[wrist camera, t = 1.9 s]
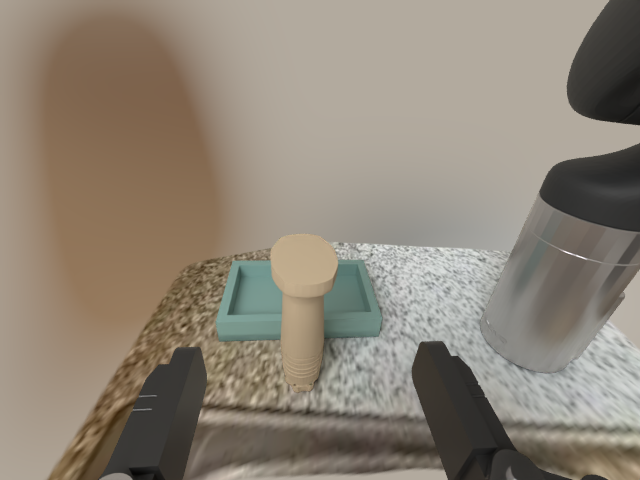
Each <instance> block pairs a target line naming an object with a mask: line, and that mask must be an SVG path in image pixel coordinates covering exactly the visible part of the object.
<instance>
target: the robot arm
mask: <svg viewBox="0 0 640 480" xmlns="http://www.w3.org/2000/svg"><path fill="white" fill-rule="evenodd" d="M567 96H568V100H569V103H570V105H571V107H572V108H573V109H574V111H576V112H577V113H579V114H581V115H583V116H585V117H588V118H591V119H595V120H600V121H608V122H616V123H623V124H633V125H640V0H610V1H609V2H608V3H607V5H606V6H605V7H604V9H603V10H602V12H601V13H600V15H599V16H598V17H597V19H596V20H595V22H594V23H593V25H592V26H591V28H590V29H589V31H588V33H587V35H586V36H585V38H584V40H583V42H582V44H581V46H580V47H579V49H578V51H577V53H576V56H575V58H574V60H573V63H572V65H571V69H570V72H569V76H568V82H567ZM639 269H640V143H639V144H637V145H634V146H632V147H629V148H627V149H624V150H621V151H617V152H613V153H609V154H605V155H600V156H593V157H585V158H577V159H571V160H567V161H563V162H560V163H558V164H556V165H555V166H553V167H552V169H551V170H550V171H549V172H548V174H547V176H546V178H545V180H544V182H543V184H542V187H541V189H540V191H539V193H538V195H537V198H536V200H535V202H534V204H533V206H532V208H531V211H530V213H529V215H528V217H527V220H526V222H525V224H524V226H523V228H522V231H521V233H520V235H519V237H518V240H517V242H516V244H515V246H514V248H513V250H512V253H511V255H510V257H509V259H508V261H507V263H506V266H505V268H504V270H503V272H502V274H501V277H500V279H499V281H498V283H497V285H496V288H495V290H494V292H493V294H492V296H491V298H490V301H489V303H488V305H487V307H486V310H485V312H484V314H483V316H482V319H481V321H480V328H481V332H482V334H483V336H484V338H485V339H486V341H487V342H488V343H489V344H490V346H491V347H492V348H493V349H494V350H495V351H496V352H498V353H499V354H500V355H502V356H503V357H504V358H506V359H507V360H509V361H511V362H512V363H514V364H516V365H518V366H521V367H523V368H525V369H529V370H532V371H536V372H542V373H555V372H558V371H561V370H563V369H564V368H565V367H566V366H567V365H568V364H569V362H570V361H571V360H572V359H578V358H579V357H580V355H581V354H582V353H583V351H584V350H585V349H586V347H587V346H588V345H589V344H590V342H591V341H592V340H593V338H594V337H595V336H596V334H597V333H598V332H599V331H600V329H601V328H602V327H603V325H604V324H605V323H606V321H607V320H608V319H609V317H610V316H611V315H612V314H613V312H614V311H615V310H616V308H617V307H618V306H619V305H620V303H621V302H622V300H623V299H624V298H625V294H624V292H623V291H624V289H625V288H626V287H627V285H628V284H629V283H630V281H631V280H632V279H633V278H634V276H635V275H636V273H637V272H638V271H639ZM412 379H413V383H414V386H415V389H416V392H417V394H418V397H419V400H420V403H421V405H422V408H423V411H424V414H425V417H426V419H427V422H428V425H429V428H430V430H431V433H432V436H433V439H434V442H435V444H436V447H437V450H438V453H439V455H440V458H441V461H442V464H443V467H444V469H445V472H446V475H447V478H448V480H572V479H569V478H565V477H562V476H559V475H555V474H552V473H549V472H546V471H543V470H541V469H539V468H538V467H537V466H536V465H535V464H534V463H533V462H532V461H531V460H530V459H528V458H527V457H526V456H524V455H523V454H521V453H519V452H518V451H517V450H516V448H515V447H514V446H513V444H512V443H511V441H510V439H509V437H508V435H507V434H506V432H505V430H504V428H503V426H502V425H501V423H500V421H499V419H498V417H497V416H496V414H495V412H494V410H493V408H492V407H491V405H490V403H489V401H488V399H487V398H486V397H485V394H484V392H483V390H482V389H481V387H480V385H478V381H477V380H476V378H475V376H474V374H473V372H472V371H471V369H470V368H469V367H468V366H467V365H466V364H465V363H464V362H463V361H462V360H461V359H460V358H459V357H458V356H451V355H450V353H449V351H448V349H447V347H446V345H445V344H444V343H443V342H442V341H429V342H421V343H420V344H419V347H418V350H417V354H416V357H415V360H414V363H413V366H412ZM206 384H207V373H206V369H205V364H204V360H203V356H202V351H201V348H200V347H178V348H176V349H175V351H174V353H173V356H172V358H171V361H170V363H169V364H162V365H158V366H157V367H156V368H155V370H154V371H153V372H152V373H151V374H150V375H149V376H148V377H147V379H146V380H145V383H144V385H143V387H142V389H141V392H140V394H139V398H137V401H136V403H135V405H134V407H133V411H132V412H131V414H130V416H129V418H128V421H127V423H126V425H125V427H124V430H123V432H122V434H121V436H120V438H119V441H118V443H117V445H116V447H115V450H114V452H113V454H112V456H111V459H110V461H109V463H108V465H107V467H106V469H105V471H104V472H103V474H102V475H101V476H100V478H99V479H98V480H182V479H183V476H184V472H185V468H186V464H187V460H188V456H189V452H190V449H191V445H192V441H193V437H194V433H195V429H196V425H197V421H198V418H199V414H200V410H201V406H202V402H203V398H204V394H205V390H206ZM581 480H608V479H606V478H604V477H601V476H598V475H586V476H584V477H583V478H582V479H581Z"/></svg>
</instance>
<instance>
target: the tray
mask: <svg viewBox="0 0 640 480" xmlns="http://www.w3.org/2000/svg"><path fill="white" fill-rule="evenodd" d="M282 297H283V292H282V291H281V290H280V289H279V288H278V287H277V285H276V284H275V282H274V281H273V279H272V272H271V261H233V262H232V266H231V269H230V273H229V277H228V280H227V284H226V287H225V291H224V294H223V298H222V302H221V305H220V309H219V312H218V316H217V319H216V327H217V332H218V337H219V341H251V340H281V322H282ZM381 322H382V316H381V312H380V309H379V306H378V303H377V300H376V297H375V294H374V291H373V288H372V285H371V282H370V279H369V276H368V273H367V270H366V267H365V264H364V261H363V260H338V272H337V277H336V280H335V283H334V286H333V288H332V290H331V291H330V292H328V293H326V294H324V338H348V337H378V336H379V332H380V327H381Z"/></svg>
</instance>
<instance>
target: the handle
mask: <svg viewBox="0 0 640 480" xmlns="http://www.w3.org/2000/svg"><path fill="white" fill-rule="evenodd" d="M271 272H272V279H273V281H274V282H275V284H276V285H277V287H278V288H279V289H280V290H281V291H282V292H283V297H282V322H281V355H282V362H283V368H284V376H285V380H286V383H288V384H290V385H291V386H292V388H293V390H294V392H296V393H299V392H301V391H311V390H312V389H313V386H314V382H315V380H317V379H318V376H319V371H320V367H321V363H322V357H323V348H324V294H326V293H328V292H330V291H331V290H332V288H333V286H334V283H335V280H336V277H337V272H338V259H337V256H336V253H335V250H334V249H333V247H332V246H331V245H330V244H329V243H328V242H326V241H325V240H324V239H323V238H321V237H320V236H316V235H312V234H293V235H288V236H284V237H282V238H280V239H279V240H278V241H277V242H276V244H275V245H274V246H273V248H272V250H271Z"/></svg>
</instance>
